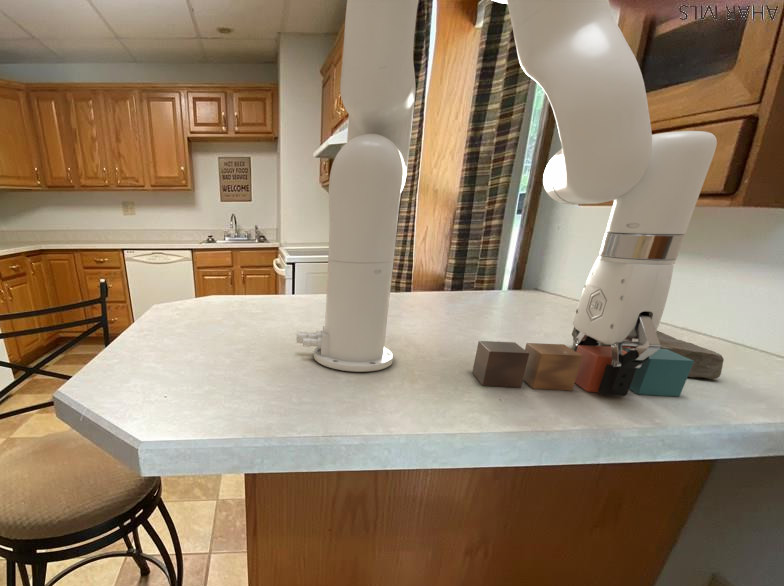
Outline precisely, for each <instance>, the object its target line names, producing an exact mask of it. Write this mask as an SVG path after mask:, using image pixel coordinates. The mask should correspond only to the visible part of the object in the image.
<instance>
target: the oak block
mask: <svg viewBox="0 0 784 586" xmlns="http://www.w3.org/2000/svg"><path fill="white" fill-rule="evenodd" d="M524 350H526V351H527V352H528V353H529V357H528V361H527V365H526V369H525V373H524V377H523V381H524V382H525V383H526V384H527V385H528V386H530V388H532V389H537V390H551V391H552V390H554V391H555V390H556V391H573V390H574V386H575V384H576V383H575V380H576V376H577V373H578V370H579V366H580V363H581V360H582V355H581V354H579V353H577V352H576V351H574V350H573V349H572V347H569V346H567V345H566V344H561V343H539V342H537V343H536V342H526V344H525V347H524Z"/></svg>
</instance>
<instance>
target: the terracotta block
mask: <svg viewBox="0 0 784 586" xmlns="http://www.w3.org/2000/svg"><path fill="white" fill-rule="evenodd" d="M576 352H577V353H579V354H581V355H582V360H581V363H580V366H579V370H578V373H577V376H576V380H575V383H574V384H576V385H578V386H579V387H580V388H582V389H583V390H584V391H586V392H590V393H599V392H598V390H599V387H600V384H601V381H602V378H603V374H604V371H605V368H606V365H607V364H609V365H612V364H611V347H608V346H586V345H578V348H577V351H576ZM626 353H627V352H626V351H624V350H622V356H623V355H624V354H626Z"/></svg>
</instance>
